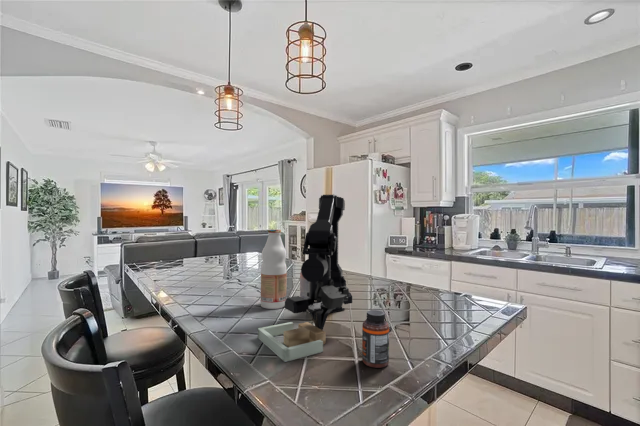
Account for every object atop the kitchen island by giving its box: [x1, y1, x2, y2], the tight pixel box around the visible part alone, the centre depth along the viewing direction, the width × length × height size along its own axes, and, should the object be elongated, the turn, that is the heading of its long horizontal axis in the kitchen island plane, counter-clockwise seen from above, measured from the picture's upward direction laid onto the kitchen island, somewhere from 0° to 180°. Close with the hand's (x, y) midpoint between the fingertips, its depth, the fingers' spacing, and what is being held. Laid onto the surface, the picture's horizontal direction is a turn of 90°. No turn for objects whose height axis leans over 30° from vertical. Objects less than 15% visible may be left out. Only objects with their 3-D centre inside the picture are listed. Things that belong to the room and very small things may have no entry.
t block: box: [283, 321, 327, 348], centre depth 80 cm, size 9×9×3 cm
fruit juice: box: [260, 229, 288, 310], centre depth 113 cm, size 9×9×28 cm
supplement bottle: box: [361, 309, 390, 369], centre depth 69 cm, size 6×6×11 cm
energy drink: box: [299, 271, 310, 299], centre depth 118 cm, size 5×5×12 cm
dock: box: [257, 321, 324, 363], centre depth 78 cm, size 10×16×2 cm, turn 33°
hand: (319, 332), depth 83 cm, fingers closed
